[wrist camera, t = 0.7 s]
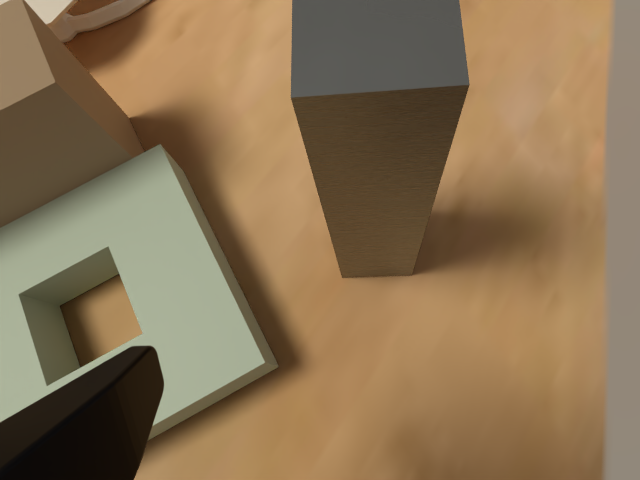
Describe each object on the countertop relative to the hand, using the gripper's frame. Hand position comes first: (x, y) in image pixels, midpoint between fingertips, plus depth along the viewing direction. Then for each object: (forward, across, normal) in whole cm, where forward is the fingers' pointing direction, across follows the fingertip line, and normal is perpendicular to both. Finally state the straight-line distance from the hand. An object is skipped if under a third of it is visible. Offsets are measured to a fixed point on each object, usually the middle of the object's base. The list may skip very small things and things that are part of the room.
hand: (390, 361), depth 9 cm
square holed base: (+14, +14, +5) cm, 21 cm away
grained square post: (+15, 0, +4) cm, 15 cm away
